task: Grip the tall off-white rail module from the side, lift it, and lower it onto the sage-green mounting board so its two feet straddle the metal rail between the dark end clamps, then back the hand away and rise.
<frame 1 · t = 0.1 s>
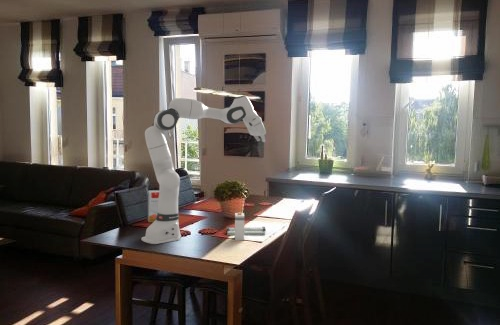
hand: (261, 141, 259), 54 cm above the table, tool tilted 30°, fingers open, 8 cm apart
module: (239, 238, 245), on the table
rail: (245, 228, 258), on the mounting board, point 2 cm above the table
hard drive box: (160, 221, 284), on the table
mounting board: (245, 232, 258), on the table
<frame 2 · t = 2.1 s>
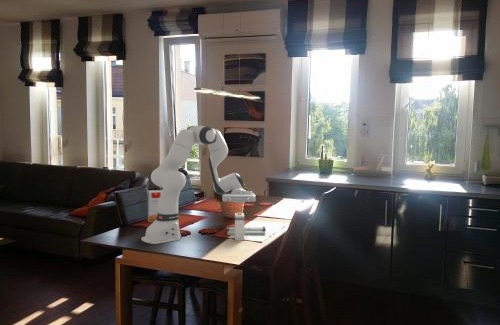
hand: (239, 200, 255), 20 cm above the table, tool horizontal, fingers open, 8 cm apart
nothing on the table moved.
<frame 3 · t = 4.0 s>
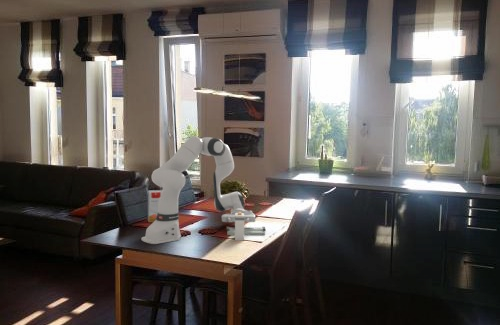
hand: (238, 221, 253), 8 cm above the table, tool horizontal, fingers open, 8 cm apart
nothing on the table moved.
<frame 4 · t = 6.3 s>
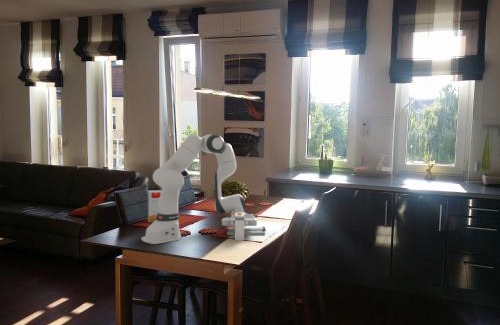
hand: (239, 225, 243), 8 cm above the table, tool horizontal, fingers closed on module, 5 cm apart
module: (239, 238, 245), on the table, touching gripper
everything else where it was.
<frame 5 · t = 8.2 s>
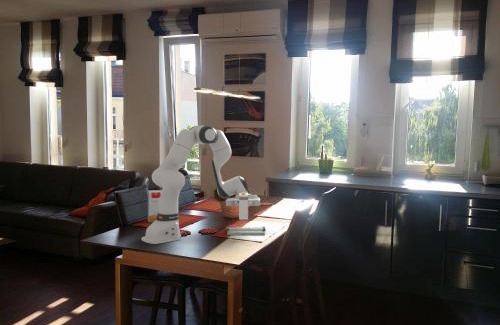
hand: (243, 204, 248), 18 cm above the table, tool horizontal, fingers closed on module, 5 cm apart
module: (243, 218, 250), point 10 cm above the table, touching gripper
everything else where it was.
when the fingers open (11 cm above the table, at t = 10.4 s): module drops 1 cm, resting on mounting board.
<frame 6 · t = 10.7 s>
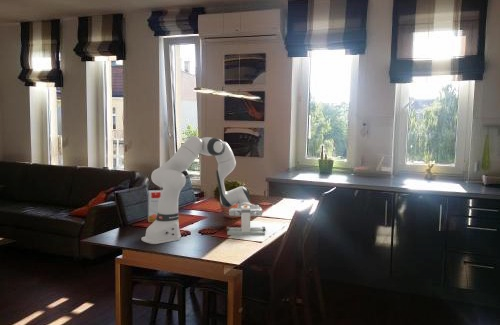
hand: (246, 214, 256), 11 cm above the table, tool horizontal, fingers open, 8 cm apart
module: (245, 230, 258), point 2 cm above the table, touching mounting board
everything else where it was.
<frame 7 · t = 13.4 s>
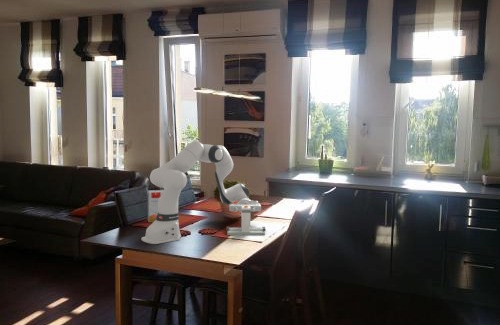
hand: (245, 210, 268), 11 cm above the table, tool horizontal, fingers open, 8 cm apart
nothing on the table moved.
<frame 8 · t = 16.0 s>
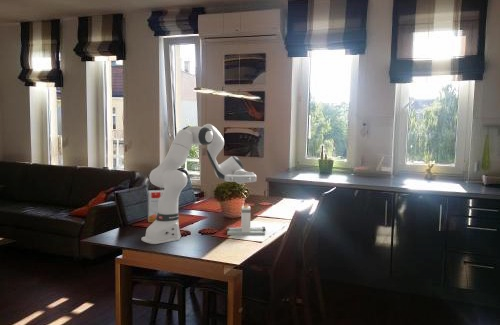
hand: (241, 180, 266), 30 cm above the table, tool horizontal, fingers open, 8 cm apart
nothing on the table moved.
at the end: module 0.1 cm off-centre on the mounting board, point 1.5 cm above the mounting board's base; module tilted 0°; module touching mounting board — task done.
